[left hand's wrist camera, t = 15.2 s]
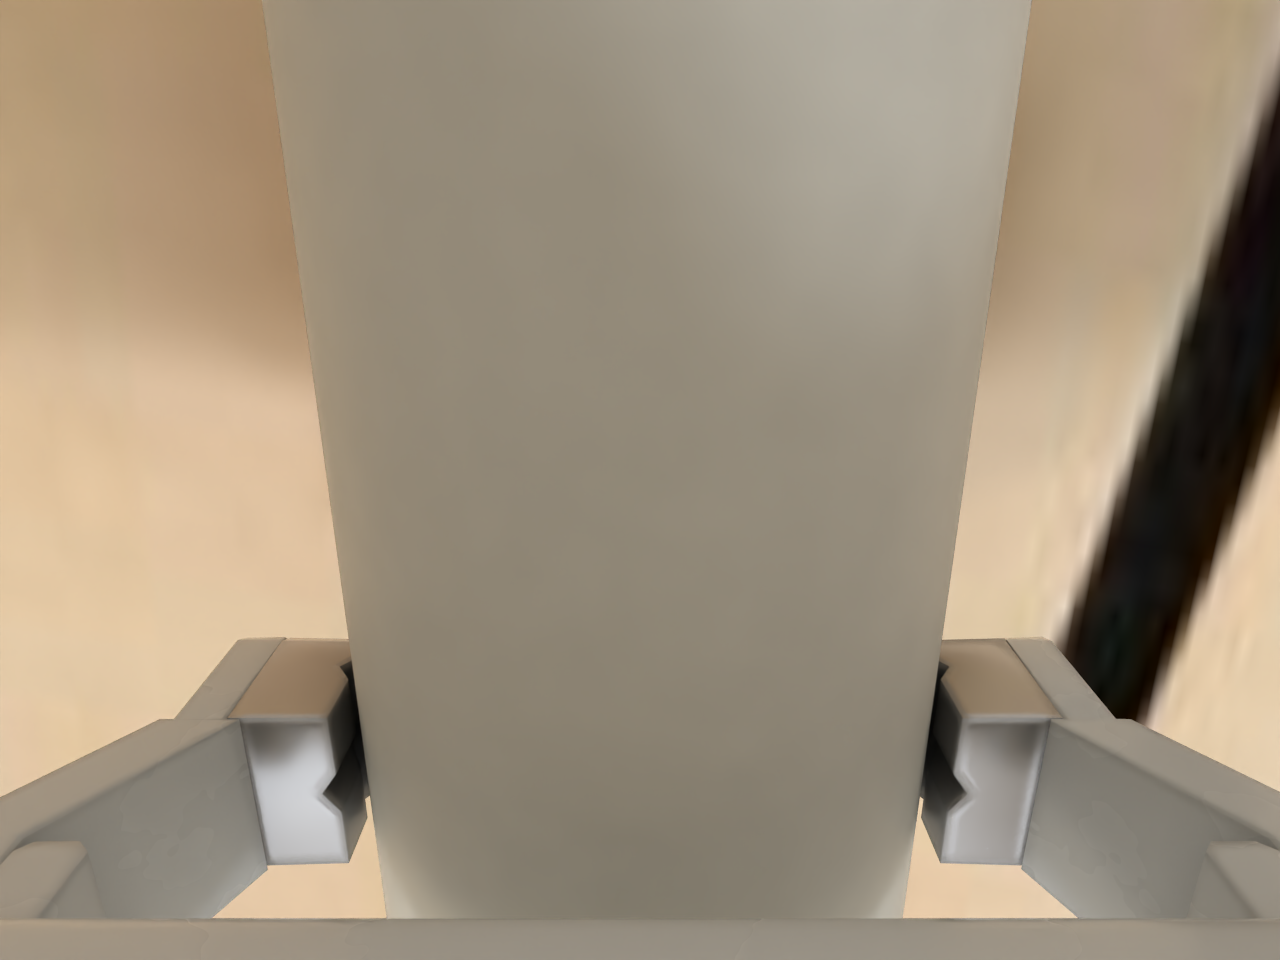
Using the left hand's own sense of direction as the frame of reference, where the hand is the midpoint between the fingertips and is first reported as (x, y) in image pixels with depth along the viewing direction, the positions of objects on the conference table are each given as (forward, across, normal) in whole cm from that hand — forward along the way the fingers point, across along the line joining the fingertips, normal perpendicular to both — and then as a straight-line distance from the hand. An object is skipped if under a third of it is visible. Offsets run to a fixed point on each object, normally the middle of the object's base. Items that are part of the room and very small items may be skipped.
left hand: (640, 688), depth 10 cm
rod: (+3, 0, -8) cm, 9 cm away
